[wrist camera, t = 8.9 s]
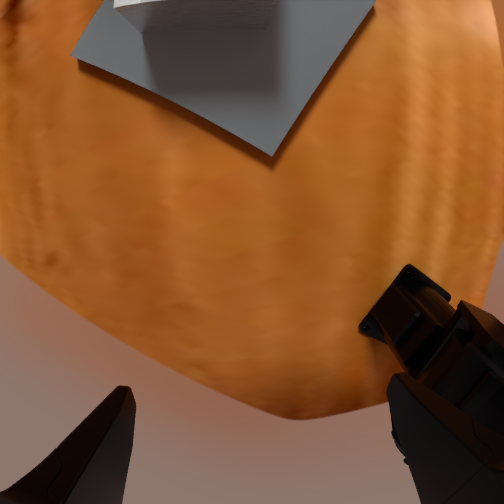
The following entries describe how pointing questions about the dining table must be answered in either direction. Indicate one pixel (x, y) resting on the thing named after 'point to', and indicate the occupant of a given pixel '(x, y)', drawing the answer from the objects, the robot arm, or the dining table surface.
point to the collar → (196, 14)
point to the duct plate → (231, 63)
